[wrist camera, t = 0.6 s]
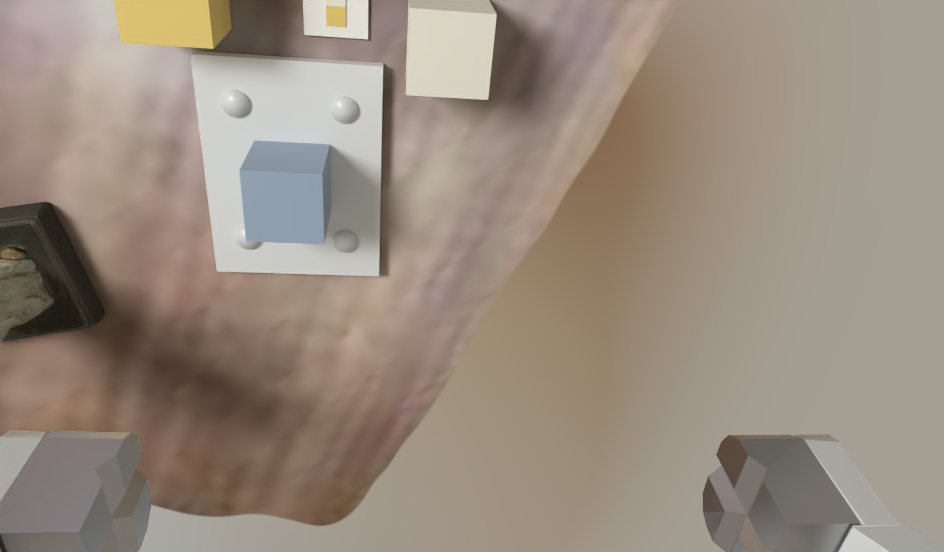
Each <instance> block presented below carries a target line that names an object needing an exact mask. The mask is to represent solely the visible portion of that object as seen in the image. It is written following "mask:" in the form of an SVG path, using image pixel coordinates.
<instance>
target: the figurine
mask: <svg viewBox="0 0 944 552" xmlns="http://www.w3.org/2000/svg"><path fill="white" fill-rule="evenodd" d="M104 314H105V313H104V311H103V308H102V306H101V304H100V302H99V299H98V297H97V295H96V293H95V292H94V290H93V287H92V285H91V282H90V280H89V278H88V277H87V275H86V272H85V270H84V268H83V266H82V264H81V262H80V260H79V259H78V257H77V255H76V253H75V251H74V248H73V246H72V244H71V242H70V240H69V238H68V236H67V234H66V232H65V230H64V229H63V227H62V226H61V224H60V222H59V220H58V218H57V217H56V215H55V213H54V211H53V209H52V208H51V206H50V205H49V204H48V202H42V203H34V204H27V205H20V206H12V207H5V208H0V343H1V342H2V341H6V340H13V339H19V338H25V337H31V336H38V335H42V334H48V333H56V332H65V331H72V330H79V329H84V328H90V327H93V326H95V325H96V324H97V323H98V322H99V321H101V319H102V318H103V316H104Z"/></svg>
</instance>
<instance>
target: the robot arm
mask: <svg viewBox="0 0 944 552" xmlns="http://www.w3.org/2000/svg"><path fill="white" fill-rule="evenodd" d="M141 455H142V451H141V447H140V444H139V440H138V437H137V435H134V434H132V433H115V432H80V431H51V432H49V431H17V430H11V431H9V432H8V433H6V434H4V435H3V436H1V437H0V552H137V551H139V550H140V547H141V545H142V542H143V539H144V536H145V533H146V531H147V526H148V520H149V514H150V507H151V502H150V487H149V482H148V478H147V477H146V476H145V475H144V474H142V473H141V472H140V471H139V470H137V469H136V467H137V465H138V463H139V460H140V458H141ZM716 455H717V457H718V459H719V461H720V462H721V465H722V466H721V467H720V468H718V469H717V470H716V471H714V472H713V473H712V474H711V475H709V476H708V479H707V482H706V485H705V488H704V491H703V513H704V517H705V522H706V526H707V528H708V531H709V533H710V536H711V538H712V540H713V542H714V543H716V544H717V545H718V546H719V547H721V548H722V549H723V550H724V551H725V552H944V547H943V546H941V545H940V544H938V543H937V542H935V541H934V540H932V539H931V538H929V537H927V536H926V535H924V534H923V533H921V532H920V531H918V530H917V529H915V528H913V527H912V526H910V525H899V524H898V523H897V521H896V520H895V518H894V517H893V516H892V514H891V513H890V512H889V510H888V509H887V507H886V506H885V505H884V503H883V502H882V501H881V499H880V498H879V497H878V495H877V494H876V493H875V491H874V490H873V488H872V487H871V486H870V484H869V483H868V482H867V480H866V479H865V477H864V476H863V475H862V473H861V472H860V471H859V469H858V468H857V467H856V465H855V464H854V463H853V461H852V460H851V458H850V457H849V456H848V454H847V453H846V452H845V450H844V449H843V448H842V446H841V445H840V443H839V442H838V441H837V440H836V439H834V438H833V437H831V436H830V435H793V436H792V435H728V436H727V437H726V438H725V439H724V440H723V441H722V442H721V444H720V447H719V449H718V452H717V454H716Z"/></svg>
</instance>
